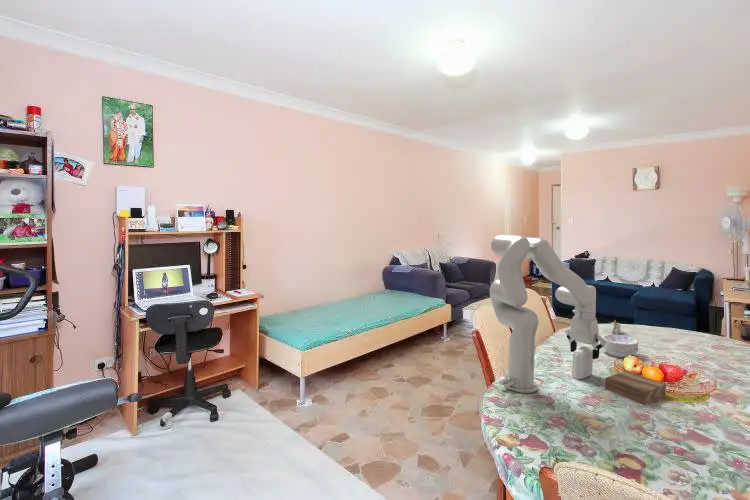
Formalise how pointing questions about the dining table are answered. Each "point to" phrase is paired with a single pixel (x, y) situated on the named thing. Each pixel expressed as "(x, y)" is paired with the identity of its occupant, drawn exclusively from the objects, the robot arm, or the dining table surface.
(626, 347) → the paper bowls
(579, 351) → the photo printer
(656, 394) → the walnut block
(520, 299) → the robot arm
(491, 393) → the dining table surface
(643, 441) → the dining table surface
